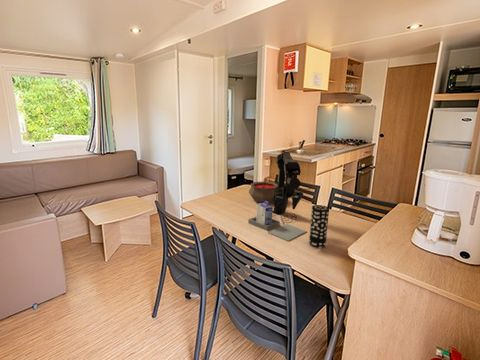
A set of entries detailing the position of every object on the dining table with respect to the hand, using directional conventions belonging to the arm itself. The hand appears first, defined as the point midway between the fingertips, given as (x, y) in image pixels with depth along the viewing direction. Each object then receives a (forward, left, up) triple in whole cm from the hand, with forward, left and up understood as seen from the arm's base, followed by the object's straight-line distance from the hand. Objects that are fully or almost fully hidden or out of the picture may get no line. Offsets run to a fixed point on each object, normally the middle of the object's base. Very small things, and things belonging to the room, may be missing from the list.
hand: (288, 211), depth 149 cm
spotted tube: (0, +19, -13) cm, 23 cm away
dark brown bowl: (-33, -47, -13) cm, 59 cm away
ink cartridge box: (+1, -17, -13) cm, 21 cm away
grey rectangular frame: (+1, -17, -13) cm, 21 cm away
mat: (0, 0, -13) cm, 13 cm away
